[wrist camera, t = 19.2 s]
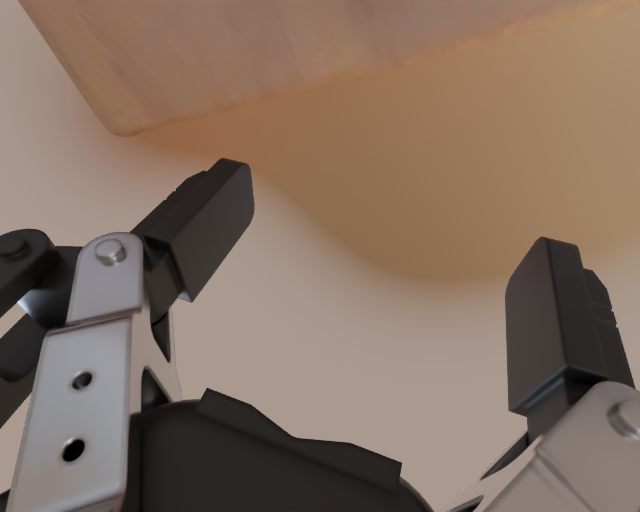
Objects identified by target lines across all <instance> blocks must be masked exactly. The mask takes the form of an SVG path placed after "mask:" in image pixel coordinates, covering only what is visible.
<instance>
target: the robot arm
mask: <svg viewBox="0 0 640 512" xmlns="http://www.w3.org/2000/svg"><path fill="white" fill-rule="evenodd" d="M253 214H254V197H253V188H252V179H251V170H250V167H249V165H248V164H246V163H242V162H238V161H234V160H230V159H225V158H222V159H220V160H218V162H216V164H214V165H213V166H212V167H211V168H210V169H209V170H208V171H202V172H200V173H198V174H195V175H193V176H192V177H189V178H187V179H186V180H185V181H184V182H183V183H182V184H181V185H180V186H179V187H178V188H177V189H176V191H173V192H172V193H171V194H170V195H169V196H168V197H167V200H164V201H163V202H162V203H161V204H159V206H157V207H156V208H155V209H154V210H153V211H152V212H151V213H150V214H149V215H148V216H147V217H146V218H144V219H143V220H142V221H141V222H140V223H139V224H138V225H137V226H136V227H135V228H134V229H133V230H132V231H130V232H129V233H127V232H114V233H109V234H105V235H102V236H100V237H97V238H96V239H94V240H92V241H91V242H89V243H88V244H87V245H86V246H84V247H74V246H73V247H72V246H54V244H53V243H52V242H51V240H50V239H49V238H48V236H47V235H46V234H45V233H44V232H42V231H40V230H37V229H21V230H15V231H12V232H9V233H6V234H3V235H1V236H0V318H1V317H2V316H3V315H4V314H5V313H6V312H7V311H8V310H9V309H10V308H12V307H13V306H14V305H15V304H16V303H18V304H19V305H20V306H21V307H22V308H23V309H24V310H25V311H26V312H27V313H26V314H25V315H24V316H23V317H22V318H21V319H20V320H19V321H18V322H17V323H16V324H15V325H14V326H13V327H12V328H11V329H10V330H9V331H8V332H7V333H6V334H5V335H4V336H3V337H2V338H1V339H0V429H1V427H2V426H3V425H4V424H5V423H6V421H7V420H8V419H9V418H10V417H11V415H12V414H13V413H14V412H15V411H16V410H17V409H18V407H19V406H20V405H21V404H22V403H23V401H24V400H25V399H26V398H27V397H28V396H29V394H30V393H31V392H32V394H31V398H30V403H29V408H28V412H27V417H26V421H25V426H24V430H23V435H22V439H21V444H20V448H19V453H18V458H17V462H16V467H15V471H14V476H13V480H12V485H11V488H10V489H9V490H7V491H5V492H3V493H1V494H0V512H434V511H433V509H432V508H431V506H430V505H429V504H428V503H427V502H426V501H425V499H424V498H423V497H422V496H421V495H420V493H419V492H418V491H417V490H416V489H414V488H413V487H412V486H411V485H410V484H409V483H408V482H407V481H406V480H404V479H403V478H402V477H400V472H401V466H402V463H401V462H398V461H396V460H393V459H391V458H388V457H385V456H383V455H380V454H378V453H375V452H372V451H370V450H367V449H365V448H362V447H359V446H357V445H354V444H351V443H346V442H335V441H324V440H313V439H302V438H301V439H300V438H296V437H293V436H291V435H290V434H288V433H287V432H286V431H284V430H283V429H282V428H281V427H279V426H278V425H276V424H275V423H274V422H273V421H271V420H270V419H269V418H267V417H266V416H265V415H264V414H262V413H261V412H260V411H258V410H257V409H256V408H255V407H253V406H252V405H250V404H247V403H245V402H243V401H240V400H237V399H234V398H232V397H230V396H227V395H224V394H222V393H219V392H217V391H213V390H211V389H209V388H207V389H206V391H205V392H204V394H203V396H202V398H201V399H193V400H183V399H182V392H181V387H180V383H179V380H178V376H177V371H176V361H175V360H176V359H175V342H174V324H173V311H172V308H171V305H172V304H173V303H174V301H175V300H176V299H177V298H179V299H183V300H185V301H188V302H191V303H192V302H193V301H194V300H195V298H196V297H197V296H198V294H199V292H200V291H201V290H202V289H203V287H204V286H205V285H206V283H207V282H208V280H209V279H210V278H211V276H212V275H213V274H214V272H215V271H216V270H217V268H218V267H219V265H220V264H221V263H222V261H223V260H224V259H225V257H226V256H227V255H228V253H229V252H230V251H231V249H232V248H233V246H234V245H235V244H236V242H237V241H238V239H239V238H240V237H241V235H242V234H243V232H244V231H245V230H246V229H247V227H248V226H249V224H250V223H251V220H252V218H253ZM505 307H506V341H507V373H508V402H509V403H508V404H509V411H511V412H513V413H516V414H520V415H522V416H525V417H527V424H528V429H527V430H526V431H524V432H523V433H522V434H521V435H520V436H519V437H518V438H517V439H516V440H515V441H514V442H513V443H512V444H511V445H510V446H509V447H508V448H507V449H506V450H504V451H503V453H502V454H500V455H499V456H498V457H497V459H495V460H494V461H493V462H492V463H491V464H490V465H489V466H488V467H487V468H486V469H485V470H484V471H483V472H482V473H481V474H480V475H479V476H478V477H477V478H476V479H475V480H474V481H473V482H472V483H471V484H470V485H469V486H467V487H466V488H465V489H464V490H462V491H461V492H460V493H458V494H457V495H456V496H455V497H454V498H453V499H452V500H450V501H449V502H448V503H447V504H446V505H445V506H444V507H443V508H442V509H441V510H440V511H439V512H640V392H639V391H637V390H636V388H635V385H634V382H633V378H632V375H631V371H630V368H629V364H628V361H627V358H626V354H625V351H624V347H623V344H622V341H621V337H620V333H619V330H618V328H617V327H616V324H617V323H616V319H615V316H614V312H612V311H611V309H612V305H611V302H610V299H609V295H608V292H607V289H606V288H605V286H604V285H603V284H602V282H601V281H600V280H599V278H598V277H597V276H596V275H595V273H594V272H593V271H592V270H588V269H584V268H583V265H582V261H581V257H580V253H579V249H578V247H577V246H576V245H574V244H570V243H566V242H562V241H558V240H554V239H550V238H546V237H540V238H539V239H538V240H537V241H536V242H535V243H534V245H533V246H532V247H531V249H530V250H529V252H528V253H527V254H526V256H525V257H524V259H523V260H522V262H521V263H520V264H519V266H518V267H517V269H516V270H515V271H514V273H513V275H512V276H511V278H510V280H509V282H508V285H507V288H506V294H505Z"/></svg>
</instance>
